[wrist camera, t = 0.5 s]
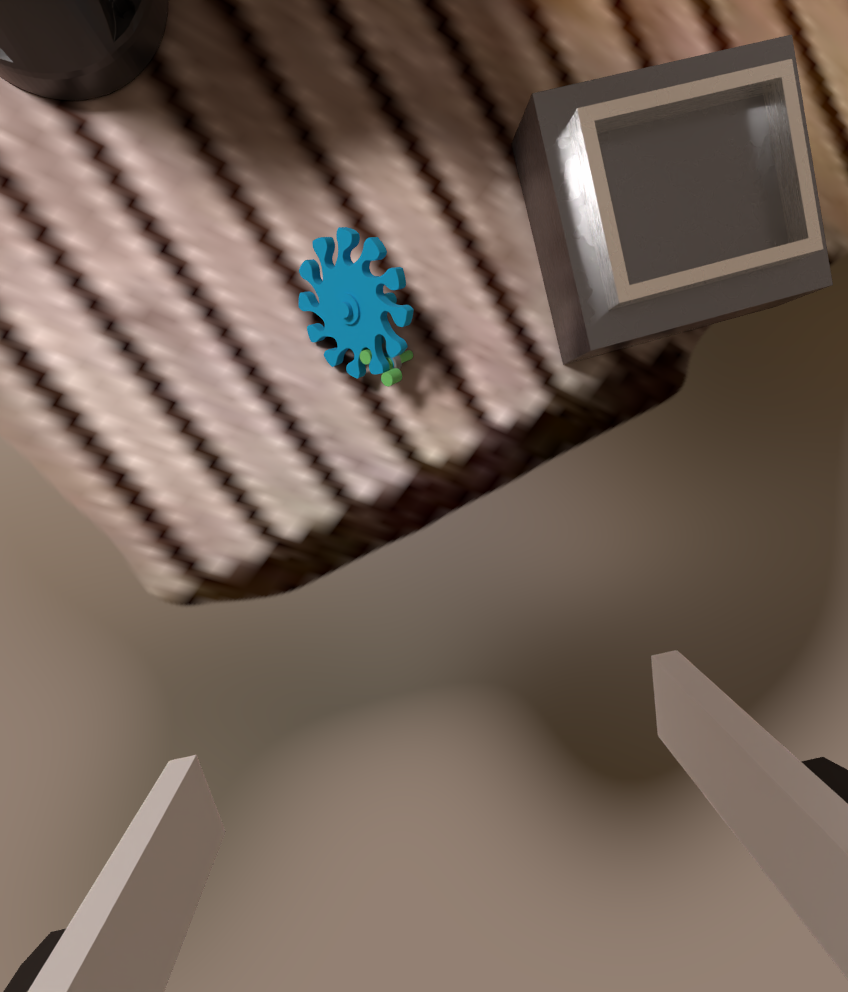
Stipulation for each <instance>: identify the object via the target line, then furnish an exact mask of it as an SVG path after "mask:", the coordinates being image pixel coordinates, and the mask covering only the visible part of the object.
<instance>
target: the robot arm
mask: <svg viewBox="0 0 848 992" xmlns="http://www.w3.org/2000/svg"><path fill="white" fill-rule="evenodd" d="M167 11H168V0H0V76H1V77H2V78H3V79H5V80H7V81H8V82H10V83H12V84H13V85H15V86H17V87H19V88H21V89H24V90H26V91H28V92H31V93H34V94H36V95H40V96H43V97H48V98H53V99H60V100H85V99H91V98H96V97H100V96H103V95H106V94H109V93H111V92H113V91H116V90H118V89H119V88H121V87H123V86H125V85H126V84H128V83H129V82H130V81H132V80H133V79H134V78H135V77H136V76H138V75H139V74H140V73H141V72H142V71H143V69H144V68H145V67H146V66H147V65H148V63H149V62H150V61H151V59H152V57H153V56H154V54H155V52H156V50H157V49H158V47H159V44H160V42H161V39H162V36H163V33H164V29H165V25H166V20H167ZM651 662H652V674H653V685H654V697H655V708H656V719H657V732H658V736H659V738H660V739H661V740H662V742H663V743H664V744H665V745H666V747H667V748H668V749H669V751H670V752H671V753H672V754H673V756H674V757H675V758H676V760H677V761H678V762H679V763H680V765H681V766H682V767H683V769H684V770H685V771H686V773H687V774H688V775H689V776H690V778H691V779H692V780H693V782H694V783H695V784H696V785H697V787H698V788H699V789H700V791H701V792H702V793H703V794H704V796H705V797H706V798H707V800H708V801H709V802H710V804H711V805H712V806H713V807H714V809H715V810H716V811H717V812H718V814H719V815H720V816H721V818H722V819H723V820H724V821H725V823H726V824H727V825H728V827H729V828H730V829H731V830H732V832H733V833H734V834H735V836H736V837H737V838H738V840H739V841H740V842H741V843H742V845H743V846H744V847H745V849H746V850H747V851H748V852H749V854H750V855H751V856H752V858H753V859H754V860H755V861H756V863H757V864H758V865H759V867H760V868H761V869H762V871H763V872H764V873H765V874H766V876H767V877H768V878H769V879H770V881H771V882H772V883H773V885H774V886H775V887H776V889H777V890H778V891H779V892H780V894H781V895H782V896H783V898H784V899H785V900H786V901H787V903H788V904H789V905H790V906H791V908H792V909H793V910H794V912H795V913H796V914H797V916H798V917H799V918H800V920H801V921H802V922H803V923H804V925H805V926H806V927H807V929H808V930H809V931H810V932H811V934H812V935H813V936H814V938H815V939H816V940H817V941H818V943H819V944H820V945H821V947H822V948H823V949H824V950H825V952H826V953H827V954H828V956H829V957H830V958H831V959H832V961H833V962H834V963H835V965H836V966H837V967H838V968H839V970H840V971H841V972H842V974H843V975H844V976H845V978H846V979H847V980H848V770H847V769H845V768H843V767H841V766H839V765H837V764H835V763H834V762H832V761H830V760H828V759H826V758H824V757H820V758H816V759H811V760H807V761H802V762H801V761H800V760H798V759H797V758H796V757H795V756H794V755H793V754H792V753H791V752H790V751H788V750H787V749H786V748H785V747H784V746H783V745H782V744H780V743H779V742H778V741H777V740H776V739H775V738H774V737H773V736H772V735H771V734H770V733H768V732H767V731H766V730H765V729H764V728H763V727H762V726H761V725H760V724H758V723H757V722H756V721H755V720H754V719H753V718H751V716H750V715H748V714H747V713H746V712H745V711H744V710H743V709H742V708H741V707H739V706H738V705H737V704H736V703H735V702H734V701H733V700H732V699H731V698H730V697H728V696H727V695H726V694H725V693H724V692H723V691H722V690H721V689H720V688H718V687H717V686H716V685H715V684H714V683H713V682H712V681H711V680H710V679H708V678H707V677H706V676H705V675H704V674H702V672H701V671H700V670H698V669H697V668H696V667H695V666H694V665H693V664H692V663H691V662H690V661H688V660H687V659H686V658H685V657H684V656H683V655H682V654H681V653H680V652H678V651H677V650H675V651H670V652H666V653H661V654H657V655H652V656H651ZM225 832H226V831H225V829H224V826H223V823H222V821H221V818H220V816H219V813H218V810H217V808H216V805H215V802H214V800H213V797H212V795H211V792H210V789H209V787H208V784H207V782H206V779H205V776H204V774H203V771H202V768H201V766H200V763H199V761H198V758H197V755H193V756H189V757H184V758H180V759H175V760H171V761H169V762H168V764H167V765H166V767H165V768H164V770H163V772H162V774H161V775H160V777H159V779H158V780H157V781H156V783H155V785H154V786H153V788H152V790H151V791H150V793H149V795H148V796H147V798H146V799H145V801H144V803H143V804H142V806H141V808H140V809H139V811H138V813H137V814H136V816H135V817H134V819H133V821H132V822H131V824H130V826H129V827H128V829H127V830H126V832H125V834H124V835H123V837H122V839H121V840H120V842H119V843H118V845H117V847H116V848H115V850H114V852H113V853H112V855H111V857H110V858H109V860H108V861H107V863H106V865H105V866H104V868H103V870H102V871H101V873H100V874H99V876H98V878H97V880H96V881H95V883H94V884H93V886H92V888H91V889H90V891H89V892H88V894H87V896H86V897H85V899H84V901H83V902H82V904H81V905H80V907H79V909H78V910H77V912H76V914H75V916H74V917H73V918H72V920H71V922H70V923H69V925H68V927H67V928H66V929H62V930H58V931H54V932H51V933H50V934H49V935H48V936H47V937H46V938H45V939H44V940H43V941H42V943H41V944H40V945H39V946H38V947H37V948H36V949H35V950H34V951H33V952H32V954H31V955H30V956H29V957H28V958H27V959H26V960H25V961H24V963H22V965H21V966H20V967H19V969H18V971H17V972H16V973H15V975H14V977H13V978H12V980H11V981H10V983H9V984H8V986H7V987H6V989H5V990H4V992H164V991H165V988H166V985H167V983H168V980H169V978H170V975H171V972H172V970H173V967H174V965H175V962H176V959H177V957H178V954H179V952H180V949H181V946H182V944H183V941H184V939H185V936H186V933H187V931H188V928H189V925H190V923H191V920H192V918H193V915H194V913H195V910H196V907H197V905H198V902H199V899H200V897H201V894H202V892H203V889H204V887H205V884H206V881H207V879H208V876H209V873H210V871H211V868H212V865H213V863H214V860H215V858H216V855H217V853H218V850H219V848H220V845H221V842H222V839H223V837H224V835H225Z"/></svg>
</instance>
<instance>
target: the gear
mask: <svg viewBox="0 0 848 992" xmlns="http://www.w3.org/2000/svg"><path fill="white" fill-rule="evenodd" d="M359 239H360V236H359V233H358V232H357V231H355V230H353V229H351V228H347V227H342V228H338V230H337V241H338V258H337V261H336V264H335V266H334V264H333V261H332V256H333V253H334V249H335V243H334V240H333V238H332V237H321V238H317V239H315V240H313V248H314V251H315V252H316V254H317V256H318V257H319V260H320V262H321V266H322V272H323V281H322V279H321V277H320V269H319V265H318V263H317V262H316V261H315V260H314V259H313V260H305V261H304V262H303V263H302V265H301V267H300V269H299V273H300V275H301V276H302V278H304V279H305V280H307V281H308V282H309V283H310V284H311V285H312V286H313V288H314V289H315V291H316V293H317V295H318V297H319V303H318V301H317V299H316V297H315V295H314V294H313V293H312V292H303V293H300V295H299V308H300V309H301V310H302V311H312V312H314V313H316V314H317V315H318V316H319V317H321V318H322V319H323V321H324V324H325V327H323V326H322V325H321V324H319V323H316V324H312V325H309V326H307V331H308V335H309V338H310V340H311V342H318V341H321V340H324V339H325V337H326V336H329V337H333V338H334V339H335V340H336V342H337V348H332V349H329V350H326V351H325V353H324V357H325V359H326V360H327V362H328V363H329V364H330V365H331V366H332V367H333V366H336V365H339V364H341V363H342V362H343V358H344V355H345V353H346V351H347V350H348V349H349V348H350V349H351V350H352V351H353V352H354V360H353V361H352V362H350V363H348V365H347V367H346V371H347V373H348V374H350V375H351V376H353V377H355V378H360V377H362V376H364V375H365V374H366V367H365V364H369V370H370V372H371V374H381V373H383V374H382V375H381V381H382V383H383V384H384V385H385V386H391V385H393V384H395V383H397V382H399V381H401V380H402V373H401V371H400V368H401V364H402V363H403V362H406V361H408V360H411V359H412V358H413V353H412V351H410V350H408V351H405V350H406V349H407V347H408V346H407V343H406V341H405V340H404V339H402V338H401V337H399V336H398V335H397V334H396V333H395V332H394V331H393V329H392V328H391V326H390V323H389V321H388V318H387V313H388V312H389V313H390V314H391V316H392V318H393V320H394V322H395V324H396V325H397V326H399V327H404V326H408V325H410V323H411V320H412V317H413V308H412V307H411V306H409V305H397V304H396V302H397V299H396V296H395V294H394V293H385V294H384V293H383V286H384V285H386V286H387V287H388V288H389V289H391V290H398V289H403V288H404V287H405V286H406V280H405V275H404V271H403V268H401V267H396V268H390V269H388V270H387V271H386V273H385V274H383V275H382V276H380V277H379V276H374V275H372V274H371V272H370V269H369V264H370V262H371V261H372V260H381V259H383V258H384V257H385V256H386V253H387V251H386V248H385V246H384V245H383V243H382V242H381V241H380V239H379V238H378V237H372V238H368V239H366V241H365V243H364V247H363V251H362V254H361V256H360V258H359V259H358V260H357V261H356V262H355V263H353V262H352V261H351V257H350V253H351V251H352V249H354V248H355V247H356V246H357V245H358V243H359ZM368 348H369V349H368ZM404 351H405V352H404Z"/></svg>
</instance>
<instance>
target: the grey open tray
mask: <svg viewBox="0 0 848 992" xmlns="http://www.w3.org/2000/svg"><path fill="white" fill-rule="evenodd" d="M512 149H513V153H514V157H515V161H516V166H517V170H518V174H519V178H520V183H521V187H522V191H523V195H524V200H525V204H526V208H527V212H528V217H529V221H530V225H531V229H532V234H533V238H534V242H535V246H536V251H537V255H538V259H539V263H540V268H541V272H542V276H543V280H544V285H545V289H546V293H547V297H548V302H549V306H550V310H551V314H552V319H553V323H554V327H555V331H556V336H557V340H558V344H559V348H560V353H561V357H562V361H563V365H564V364H567V363H571V362H575V361H578V360H582V359H586V358H589V357H593V356H597V355H600V354H604V353H608V352H611V351H615V350H619V349H622V348H626V347H630V346H633V345H637V344H641V343H644V342H648V341H652V340H655V339H659V338H663V337H666V336H670V335H674V334H677V333H681V332H685V331H688V330H692V329H696V328H699V327H703V326H707V325H710V324H714V323H718V322H721V321H725V320H728V319H732V318H736V317H740V316H743V315H746V314H750V313H754V312H758V311H761V310H765V309H769V308H773V307H776V306H779V305H781V304H784V303H787V302H789V301H792V300H794V299H797V298H800V297H802V296H805V295H807V294H810V293H813V292H815V291H818V290H821V289H823V288H826V287H829V286H831V285H833V283H832V278H831V271H830V265H829V259H828V253H827V247H826V241H825V234H824V228H823V222H822V216H821V210H820V204H819V198H818V192H817V186H816V180H815V174H814V167H813V161H812V155H811V149H810V143H809V137H808V131H807V125H806V119H805V113H804V106H803V100H802V94H801V88H800V82H799V76H798V70H797V64H796V58H795V52H794V46H793V39H792V35H788V36H784V37H779V38H775V39H770V40H766V41H762V42H757V43H753V44H748V45H744V46H740V47H735V48H731V49H726V50H722V51H718V52H713V53H709V54H704V55H700V56H696V57H691V58H687V59H682V60H678V61H674V62H669V63H665V64H660V65H656V66H651V67H647V68H643V69H638V70H634V71H629V72H625V73H621V74H616V75H612V76H607V77H603V78H599V79H594V80H590V81H585V82H581V83H577V84H572V85H568V86H563V87H559V88H555V89H550V90H546V91H541V92H537V93H533V94H532V96H531V98H530V100H529V103H528V105H527V108H526V110H525V112H524V115H523V117H522V120H521V122H520V124H519V127H518V129H517V132H516V134H515V137H514V139H513V141H512Z"/></svg>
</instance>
